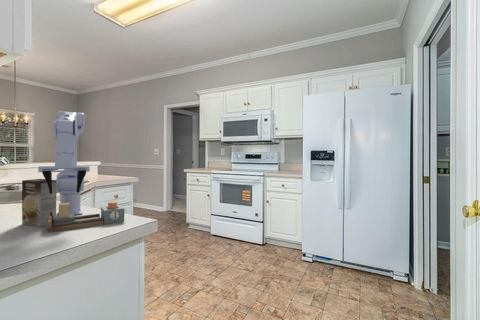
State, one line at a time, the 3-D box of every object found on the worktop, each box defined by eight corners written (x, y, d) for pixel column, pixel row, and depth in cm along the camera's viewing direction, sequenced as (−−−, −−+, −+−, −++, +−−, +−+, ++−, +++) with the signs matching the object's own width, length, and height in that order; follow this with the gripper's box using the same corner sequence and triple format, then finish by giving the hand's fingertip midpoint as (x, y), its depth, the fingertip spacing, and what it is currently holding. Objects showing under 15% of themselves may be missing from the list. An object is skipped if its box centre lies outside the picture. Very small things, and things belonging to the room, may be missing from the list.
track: (48, 225, 88) (48, 216, 88) (99, 219, 98) (99, 210, 98) (47, 232, 81) (47, 222, 81) (102, 224, 91) (103, 215, 91)
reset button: (107, 212, 97) (107, 202, 97) (116, 211, 99) (116, 201, 99) (108, 214, 95) (108, 203, 95) (118, 213, 97) (118, 202, 96)
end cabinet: (100, 219, 98) (101, 207, 97) (120, 217, 102) (120, 205, 102) (104, 224, 92) (104, 210, 92) (124, 221, 96) (124, 208, 96)
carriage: (53, 221, 88) (53, 203, 87) (73, 219, 91) (73, 201, 91) (53, 225, 84) (53, 206, 84) (74, 222, 87) (74, 204, 87)
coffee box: (20, 224, 89) (20, 180, 89) (39, 220, 96) (39, 178, 95) (39, 227, 87) (39, 181, 86) (57, 222, 93) (57, 179, 93)
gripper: (38, 152, 79) (37, 194, 79) (90, 153, 88) (90, 191, 87) (38, 154, 85) (38, 193, 84) (88, 155, 94) (88, 191, 93)
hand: (64, 192), depth 86 cm, fingers open, 7 cm apart
